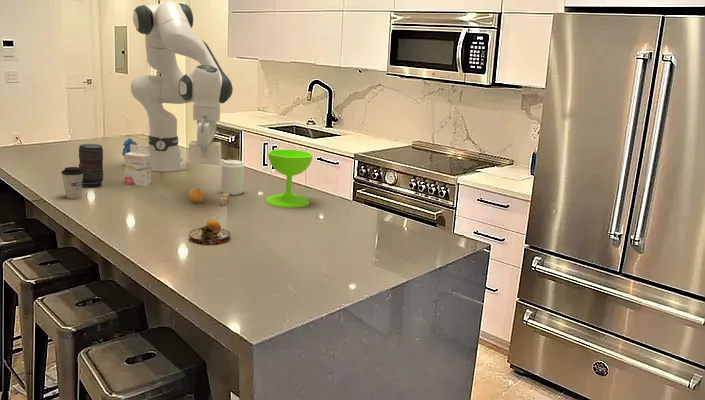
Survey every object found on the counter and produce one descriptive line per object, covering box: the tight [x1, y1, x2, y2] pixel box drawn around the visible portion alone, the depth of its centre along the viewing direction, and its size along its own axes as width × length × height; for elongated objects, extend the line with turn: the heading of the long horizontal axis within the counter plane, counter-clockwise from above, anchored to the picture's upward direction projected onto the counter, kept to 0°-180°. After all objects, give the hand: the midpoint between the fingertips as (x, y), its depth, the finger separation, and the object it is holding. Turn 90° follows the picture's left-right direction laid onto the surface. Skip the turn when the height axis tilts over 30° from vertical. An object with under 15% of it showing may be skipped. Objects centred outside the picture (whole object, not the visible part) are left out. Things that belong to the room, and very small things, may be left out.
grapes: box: [121, 138, 138, 160], centre depth 253 cm, size 12×7×12 cm, turn 49°
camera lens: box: [78, 143, 104, 188], centre depth 219 cm, size 8×8×15 cm
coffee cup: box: [61, 166, 84, 200], centre depth 203 cm, size 7×7×10 cm
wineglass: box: [265, 148, 313, 209], centre depth 218 cm, size 16×16×18 cm
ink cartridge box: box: [124, 144, 152, 187], centre depth 226 cm, size 9×5×15 cm, turn 84°
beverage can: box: [220, 159, 245, 196], centre depth 224 cm, size 8×8×12 cm
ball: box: [188, 188, 205, 204], centre depth 208 cm, size 5×5×5 cm
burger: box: [188, 217, 231, 246], centre depth 173 cm, size 12×12×8 cm
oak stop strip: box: [220, 192, 230, 207], centre depth 211 cm, size 8×2×2 cm, turn 6°
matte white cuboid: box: [188, 140, 222, 166], centre depth 205 cm, size 7×10×7 cm
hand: (205, 155), depth 205 cm, fingers closed on matte white cuboid, 7 cm apart
